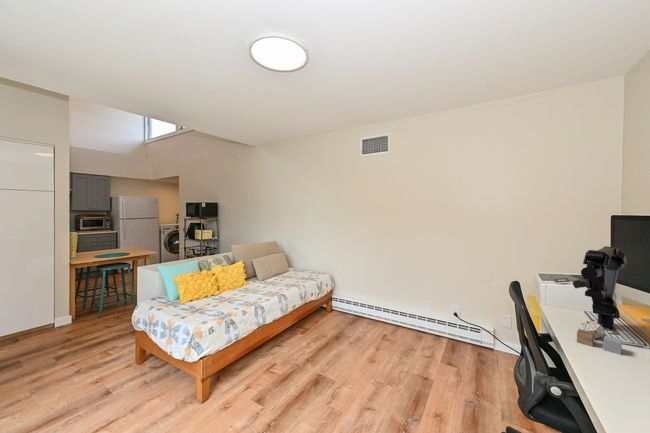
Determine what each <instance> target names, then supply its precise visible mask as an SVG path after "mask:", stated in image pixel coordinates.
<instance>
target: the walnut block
mask: <svg viewBox="0 0 650 433" xmlns="http://www.w3.org/2000/svg"><path fill="white" fill-rule="evenodd" d="M594 341H595V340H594V332H590V331H586V330H584V329H582V328H578V329H577V331H576V343H578V344H582V345H585V346H588V347H590V348H591V347H593V345H594V343H595V342H594Z"/></svg>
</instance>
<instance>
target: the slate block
mask: <svg viewBox="0 0 650 433" xmlns="http://www.w3.org/2000/svg"><path fill="white" fill-rule="evenodd" d="M606 335H607V334H605V336H603V351H605V352H609V353H613V354H616V355H620V356H621V355H622V349H623V348H622V347H623V344H622V343H623V340H622V339H621V338H617V337H613V336H609V335H607V336H606Z"/></svg>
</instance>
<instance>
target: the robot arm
mask: <svg viewBox="0 0 650 433" xmlns="http://www.w3.org/2000/svg"><path fill="white" fill-rule="evenodd" d="M627 263H628V260H627V255H626V254H625V253H624V252H622V251H620V250H619V248H618V247H616V246H603V247H602V248H600V249H598V250H595V249H589V250H587V251H586V253H585V255H584V259H583V262H582V264H583V265H586V267H584V268H581V270H580V274H581V276H582V277H583V278H584V279H576V280H572V282H571V283H572V285H573V287H574V289H580V288H586V290H585V291H584V296H586V297H589V298H591V300H592V305H591V306H592V313H593V314H597V322H596V323H598V324H600V325H601V324H603V325H602V327H603V328H606V329H605V330H610V331H611V330H612V331H615V329H616V325H615V324H614V323H615V319H616V320H617V319H620V318H621V315H620V310H619V308H618V305H617V302H616V300H614V296H615V290H616V286H617V280H618V275H619V272H621V271H623V270H624V268H625V265H627Z"/></svg>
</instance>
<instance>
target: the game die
mask: <svg viewBox="0 0 650 433" xmlns="http://www.w3.org/2000/svg"><path fill="white" fill-rule="evenodd" d="M581 325H583V330H586V331H590V332H594V341H596V339H597V338H600V339H602V337H605V335H606V336H608V335H607V334H606V332H605V331H606V330H607V329H606V328H603V327H602V325H603V324H601V325H600V324H598V323H597V322H596V320H595V319H592V320H591V321H588V320H586V323H583V322H581Z"/></svg>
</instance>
